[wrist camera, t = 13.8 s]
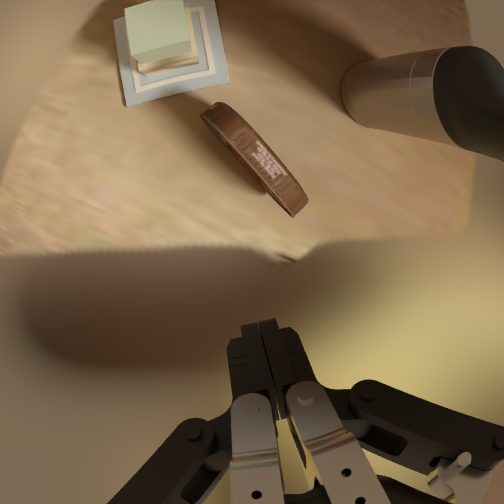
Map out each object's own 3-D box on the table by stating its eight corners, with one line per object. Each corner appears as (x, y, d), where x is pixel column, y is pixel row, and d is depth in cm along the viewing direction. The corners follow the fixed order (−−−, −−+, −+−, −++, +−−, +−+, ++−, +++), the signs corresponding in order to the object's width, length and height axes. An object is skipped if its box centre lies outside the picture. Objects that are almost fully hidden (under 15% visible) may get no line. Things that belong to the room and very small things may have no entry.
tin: (198, 117, 31) (195, 117, 24) (218, 99, 31) (223, 93, 23) (279, 206, 38) (298, 231, 30) (298, 190, 37) (321, 211, 30)
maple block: (191, 19, 25) (189, 6, 21) (199, 63, 28) (198, 56, 24) (140, 32, 25) (131, 21, 21) (147, 76, 27) (138, 70, 23)
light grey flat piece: (213, -4, 24) (213, -6, 24) (229, 83, 30) (229, 82, 29) (114, 21, 24) (112, 19, 23) (128, 107, 29) (126, 107, 28)
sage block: (184, 11, 21) (181, -7, 17) (192, 52, 23) (189, 40, 19) (136, 23, 21) (124, 8, 16) (143, 64, 23) (131, 55, 19)
